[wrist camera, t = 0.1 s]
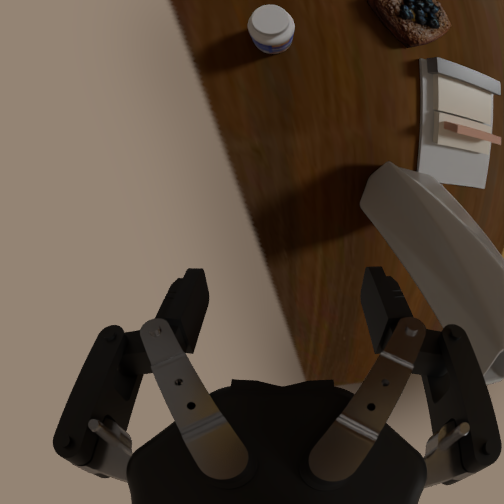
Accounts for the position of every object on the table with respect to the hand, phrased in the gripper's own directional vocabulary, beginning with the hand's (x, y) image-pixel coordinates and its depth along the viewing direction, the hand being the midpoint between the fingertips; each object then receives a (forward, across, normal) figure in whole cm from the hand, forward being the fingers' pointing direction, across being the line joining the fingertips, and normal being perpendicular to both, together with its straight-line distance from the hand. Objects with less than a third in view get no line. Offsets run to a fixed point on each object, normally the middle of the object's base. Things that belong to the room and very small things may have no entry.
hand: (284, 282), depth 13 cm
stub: (+28, -30, -6) cm, 41 cm away
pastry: (+30, -21, -25) cm, 44 cm away
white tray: (+29, -30, -7) cm, 42 cm away
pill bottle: (+30, 0, -18) cm, 35 cm away
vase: (+29, -17, +5) cm, 34 cm away
